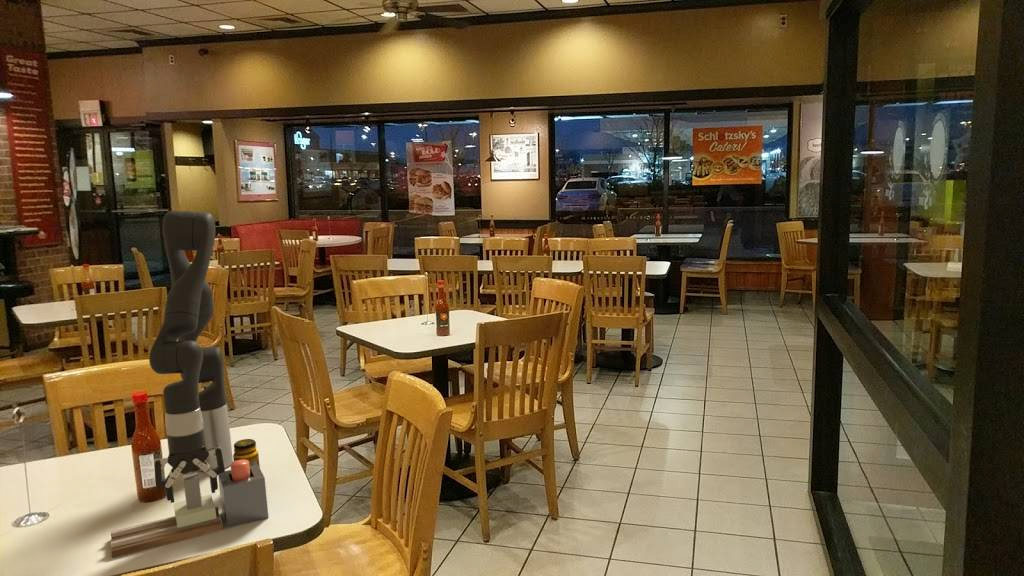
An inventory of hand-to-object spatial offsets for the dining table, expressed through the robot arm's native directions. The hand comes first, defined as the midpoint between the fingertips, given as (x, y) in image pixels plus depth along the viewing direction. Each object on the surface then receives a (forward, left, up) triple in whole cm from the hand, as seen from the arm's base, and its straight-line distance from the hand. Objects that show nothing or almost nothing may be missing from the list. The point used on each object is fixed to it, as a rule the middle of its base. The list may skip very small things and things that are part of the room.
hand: (192, 496), depth 161 cm
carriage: (0, 0, -5) cm, 5 cm away
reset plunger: (0, +11, 0) cm, 11 cm away
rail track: (0, -6, -7) cm, 10 cm away
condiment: (-16, +13, -8) cm, 22 cm away
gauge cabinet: (0, +11, -7) cm, 13 cm away
